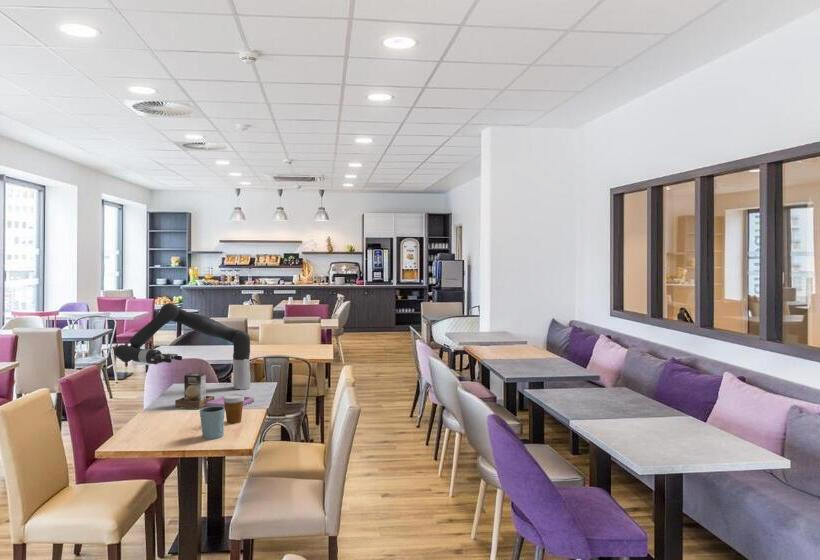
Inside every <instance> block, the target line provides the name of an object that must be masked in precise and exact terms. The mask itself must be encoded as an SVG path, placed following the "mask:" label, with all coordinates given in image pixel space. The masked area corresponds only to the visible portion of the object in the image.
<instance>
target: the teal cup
mask: <svg viewBox="0 0 820 560" xmlns="http://www.w3.org/2000/svg"><path fill="white" fill-rule="evenodd" d="M225 413H226V412H225V408H224V407H222V406H209V407H203V408H201V409H199V416H200V424H201V433H202V434H201V435H202V439H204V440H217V439H221V438H223V437H224V435H225V434H224V431H225V421H224V420H225Z"/></svg>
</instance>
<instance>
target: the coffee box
mask: <svg viewBox="0 0 820 560" xmlns="http://www.w3.org/2000/svg"><path fill="white" fill-rule="evenodd" d="M206 376H207V375H206V373H201V372H200V373H197V372H194V373H193V372H189V373H186V374H185V375H184V377H183V378H184V381H183V382H184V384H183V385H184V392H183V393H184V401H196V402H199V401H202V400H204V399H206V396H207V391H206V389H207V387H206V385H207V384H206V383H207V382H206V380H207V379H206V378H207V377H206Z"/></svg>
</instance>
